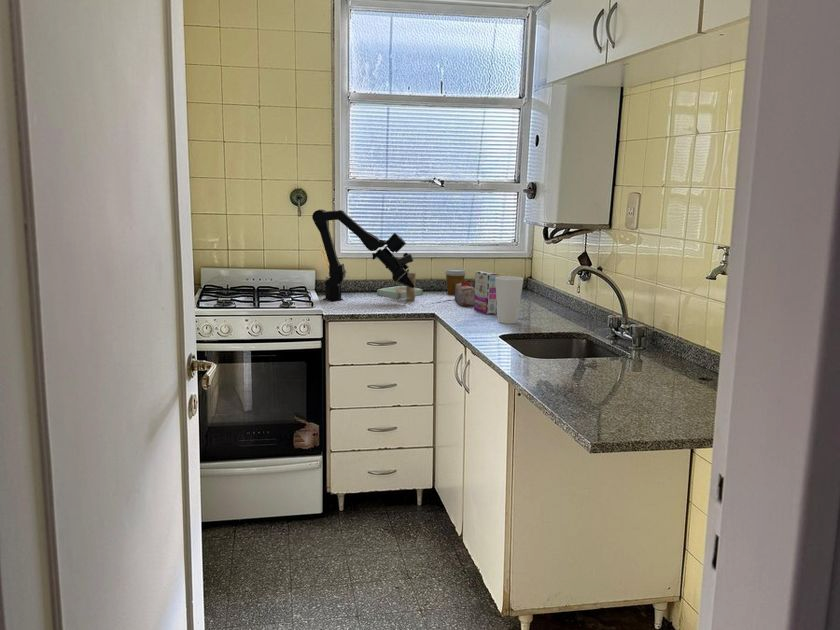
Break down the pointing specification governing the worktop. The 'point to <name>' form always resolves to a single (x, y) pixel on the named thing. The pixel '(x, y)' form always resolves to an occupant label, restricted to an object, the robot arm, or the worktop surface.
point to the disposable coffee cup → (454, 279)
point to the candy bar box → (485, 292)
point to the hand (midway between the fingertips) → (414, 286)
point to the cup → (508, 298)
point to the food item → (464, 294)
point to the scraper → (410, 291)
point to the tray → (392, 292)
